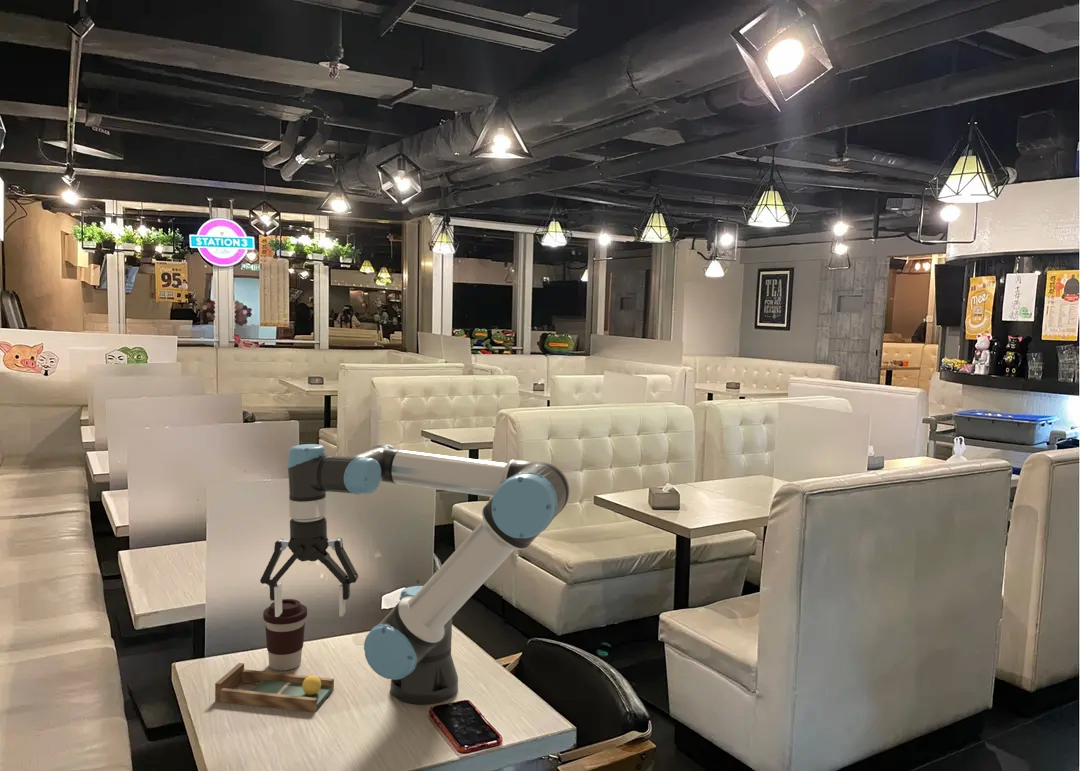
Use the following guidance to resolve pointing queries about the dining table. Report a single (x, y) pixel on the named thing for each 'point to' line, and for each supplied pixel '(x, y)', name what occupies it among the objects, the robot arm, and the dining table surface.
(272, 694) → the tray
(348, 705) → the dining table surface
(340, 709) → the dining table surface
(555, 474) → the robot arm
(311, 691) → the ball
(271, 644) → the coffee cup
